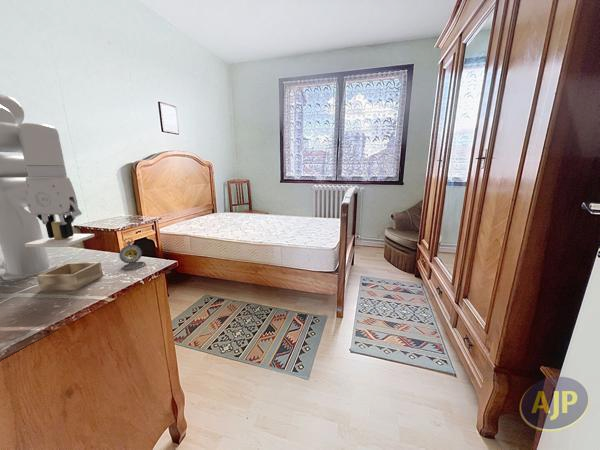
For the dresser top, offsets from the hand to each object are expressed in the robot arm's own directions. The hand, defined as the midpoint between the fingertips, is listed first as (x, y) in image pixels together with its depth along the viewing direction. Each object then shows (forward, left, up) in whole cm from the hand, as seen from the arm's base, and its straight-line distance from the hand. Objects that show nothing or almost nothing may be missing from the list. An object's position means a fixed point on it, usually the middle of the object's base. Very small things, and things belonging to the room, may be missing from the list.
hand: (61, 236), depth 71 cm
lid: (0, 0, -1) cm, 1 cm away
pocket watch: (+11, +13, -15) cm, 23 cm away
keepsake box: (+1, 0, -15) cm, 15 cm away
